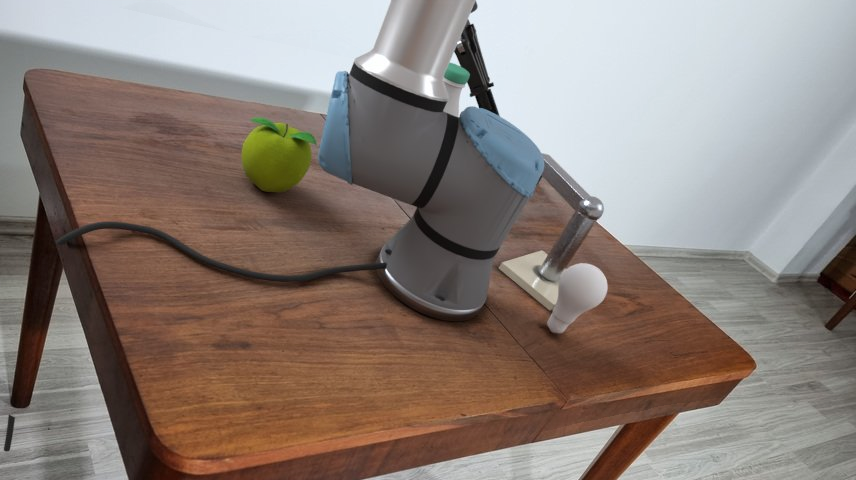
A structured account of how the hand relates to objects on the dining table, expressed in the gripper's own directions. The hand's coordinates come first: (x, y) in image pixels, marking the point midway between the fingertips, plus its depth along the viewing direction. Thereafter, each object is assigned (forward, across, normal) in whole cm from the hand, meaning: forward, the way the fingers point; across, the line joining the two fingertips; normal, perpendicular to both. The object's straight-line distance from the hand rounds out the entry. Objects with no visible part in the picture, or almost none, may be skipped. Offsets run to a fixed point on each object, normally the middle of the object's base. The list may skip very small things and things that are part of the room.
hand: (494, 126), depth 126 cm
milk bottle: (0, -15, +14) cm, 21 cm away
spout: (+15, -23, -3) cm, 27 cm away
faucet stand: (+19, -28, -4) cm, 34 cm away
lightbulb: (+20, -40, -6) cm, 45 cm away
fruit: (-11, -39, +26) cm, 48 cm away
